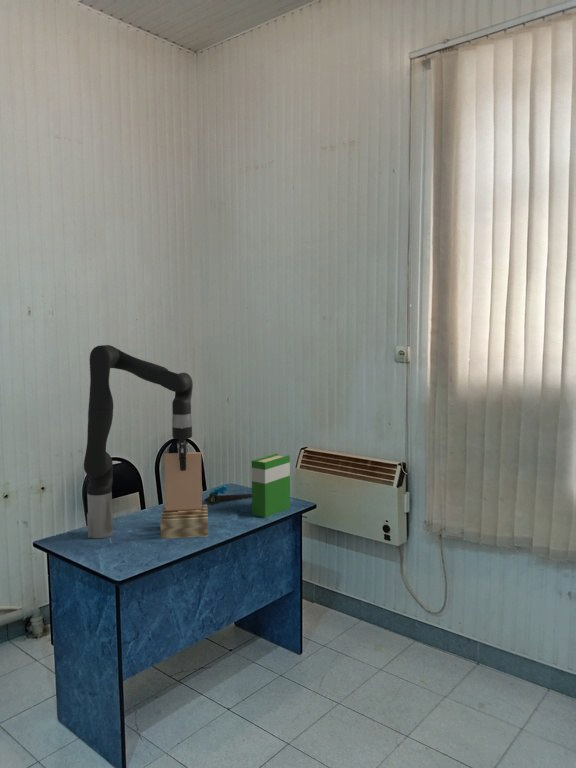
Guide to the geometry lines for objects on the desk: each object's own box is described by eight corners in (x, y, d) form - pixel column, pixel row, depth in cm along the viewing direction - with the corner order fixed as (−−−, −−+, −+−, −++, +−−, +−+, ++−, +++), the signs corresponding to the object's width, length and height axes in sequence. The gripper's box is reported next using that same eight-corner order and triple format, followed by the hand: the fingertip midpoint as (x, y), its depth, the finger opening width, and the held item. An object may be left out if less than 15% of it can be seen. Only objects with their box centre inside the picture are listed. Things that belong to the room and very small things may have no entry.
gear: (222, 492, 307) (228, 481, 300) (228, 503, 304) (234, 492, 297) (202, 500, 300) (208, 489, 293) (208, 510, 298) (214, 499, 291)
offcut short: (178, 532, 251) (178, 512, 251) (178, 530, 253) (178, 510, 253) (201, 531, 253) (201, 511, 252) (201, 529, 255) (201, 509, 254)
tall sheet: (165, 510, 246) (164, 454, 244) (165, 509, 247) (164, 453, 245) (202, 508, 248) (201, 453, 245) (202, 507, 249) (201, 452, 247)
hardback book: (276, 505, 292) (276, 453, 289) (289, 508, 288) (289, 455, 285) (252, 514, 278) (251, 460, 275) (265, 518, 274) (264, 463, 271)
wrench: (266, 502, 303) (207, 507, 288) (261, 500, 308) (203, 505, 293) (266, 491, 303) (207, 496, 288) (261, 489, 308) (203, 493, 293)
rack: (160, 542, 244) (160, 520, 244) (163, 526, 263) (162, 506, 262) (208, 539, 247) (207, 518, 246) (207, 524, 266) (207, 504, 265)
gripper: (172, 422, 250) (173, 466, 252) (171, 428, 237) (172, 474, 239) (192, 422, 251) (193, 465, 253) (191, 428, 238) (192, 473, 240)
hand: (183, 469), depth 246 cm, fingers closed on tall sheet, 1 cm apart
